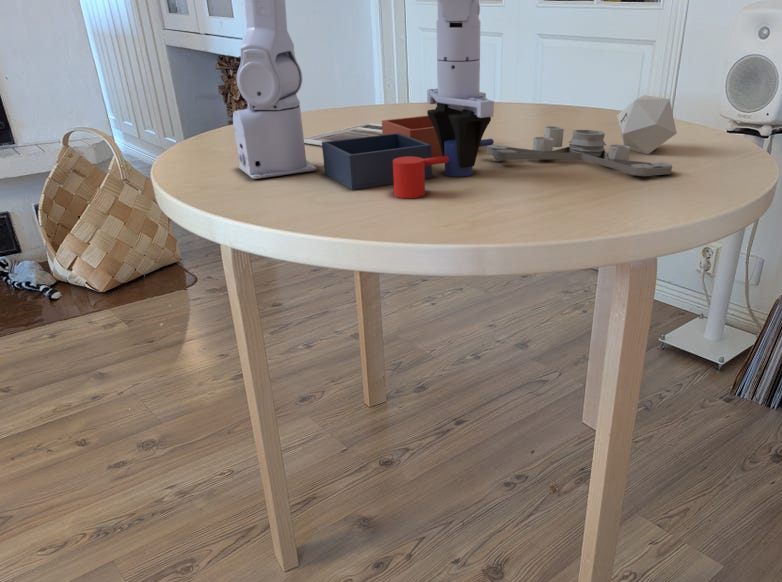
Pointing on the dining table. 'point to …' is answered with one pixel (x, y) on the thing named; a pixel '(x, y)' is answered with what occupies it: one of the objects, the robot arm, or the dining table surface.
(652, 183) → the dining table surface
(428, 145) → the blue bin
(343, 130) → the grey striped panel
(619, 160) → the pulley system
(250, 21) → the robot arm
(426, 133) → the red bin
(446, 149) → the blue scoop
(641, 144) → the die
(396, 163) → the red scoop
